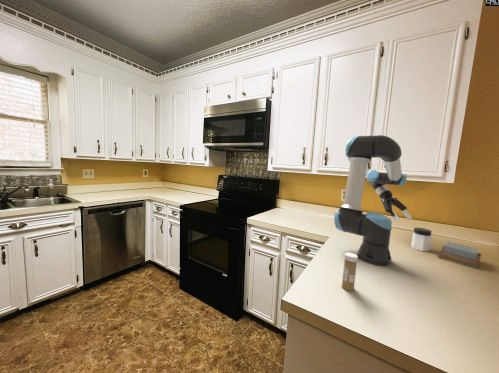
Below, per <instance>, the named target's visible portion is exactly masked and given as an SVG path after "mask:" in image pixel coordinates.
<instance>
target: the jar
mask: <svg viewBox="0 0 499 373" xmlns="http://www.w3.org/2000/svg"><path fill="white" fill-rule="evenodd" d="M431 242H432V230H431V229H427V228H425V227H424V228H422V227H414V228H413V231H412V237H411V244H410V247H411V248H412V249H414V250H417V251H419V252H430V248H431Z"/></svg>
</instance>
